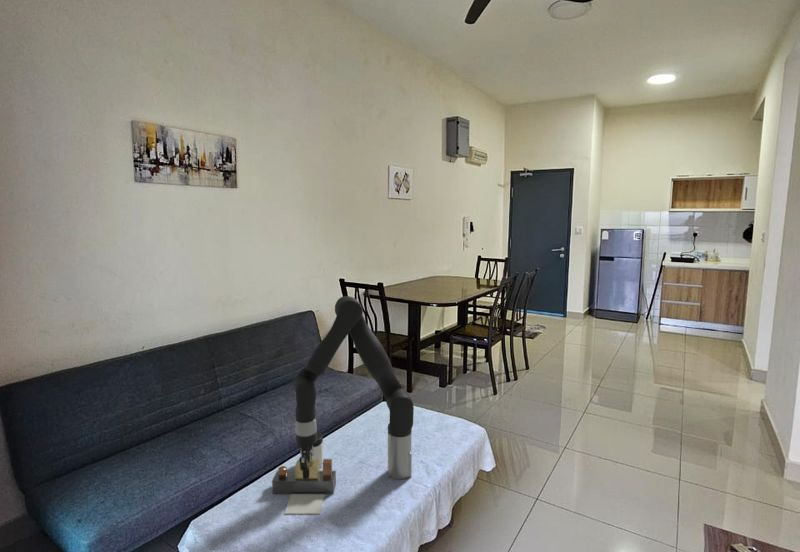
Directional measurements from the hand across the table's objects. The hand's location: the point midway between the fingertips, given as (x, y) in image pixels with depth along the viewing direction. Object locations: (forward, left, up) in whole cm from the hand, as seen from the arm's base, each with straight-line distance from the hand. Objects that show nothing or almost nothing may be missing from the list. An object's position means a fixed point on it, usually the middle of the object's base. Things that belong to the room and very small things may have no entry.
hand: (307, 473), depth 163 cm
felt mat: (-1, +9, -6) cm, 11 cm away
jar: (+1, -16, -6) cm, 17 cm away
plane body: (+1, 0, -6) cm, 6 cm away
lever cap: (0, 0, -1) cm, 1 cm away
